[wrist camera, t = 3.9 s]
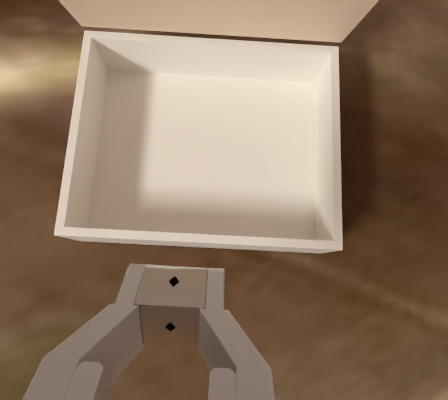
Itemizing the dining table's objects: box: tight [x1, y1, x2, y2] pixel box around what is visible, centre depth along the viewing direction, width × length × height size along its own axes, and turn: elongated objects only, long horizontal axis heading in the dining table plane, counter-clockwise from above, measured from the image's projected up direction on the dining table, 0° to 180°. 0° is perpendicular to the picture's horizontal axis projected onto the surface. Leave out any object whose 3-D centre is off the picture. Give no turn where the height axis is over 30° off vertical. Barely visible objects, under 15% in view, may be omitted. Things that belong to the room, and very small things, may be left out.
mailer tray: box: [54, 31, 343, 254], centre depth 28 cm, size 16×20×5 cm
